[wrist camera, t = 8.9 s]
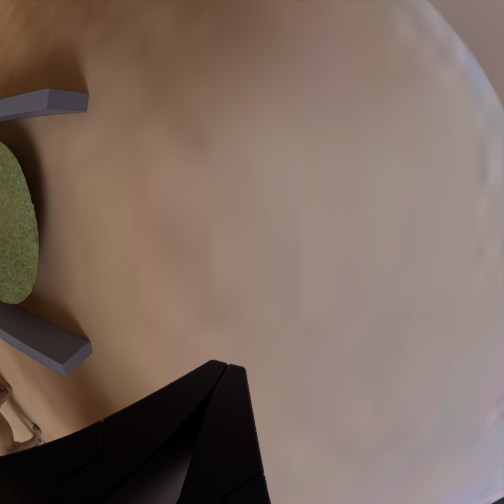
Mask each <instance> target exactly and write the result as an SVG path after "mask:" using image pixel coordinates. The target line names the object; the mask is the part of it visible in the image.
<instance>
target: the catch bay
mask: <svg viewBox="0 0 504 504" xmlns="http://www.w3.org/2000/svg"><path fill="white" fill-rule="evenodd" d="M88 95H89V94H85V93H79V92H73V91H67V90H60V89H52V88H48V89H42V90H38V91H33V92H28V93H24V94H20V95H16V96H12V97H8V98H4V99H0V122H3V121H9V120H15V119H22V118H30V117H37V116H46V115H56V114H66V113H79V112H86V109H87V102H88ZM0 338H1V339H3V340H4V341H6V342H7V343H9V344H10V345H12V346H13V347H15V348H16V349H18V350H20V351H21V352H23V353H24V354H26V355H28V356H29V357H31V358H32V359H34V360H36V361H38V362H39V363H41V364H43V365H44V366H46V367H48V368H50V369H51V370H53V371H55V372H57V373H59V374H61V375H62V376H64V377H67V376H68V375H69V374H70V373H71V372H72V371H73V370H74V369H75V368H76V367H77V366H78V365H80V364H81V363H82V362H83V361H84V360H85V359H86V358H87V357H88V356H89V355H90V354H91V353H92V351H91V345H90V341H88V340H86V339H83V338H81V337H79V336H77V335H74V334H72V333H70V332H68V331H65V330H63V329H61V328H59V327H57V326H55V325H52V324H50V323H48V322H46V321H44V320H42V319H40V318H38V317H36V316H34V315H32V314H30V313H28V312H26V311H24V310H22V309H20V308H19V307H17V306H15V305H13V304H11V303H10V304H9V303H5V302H3V301H1V300H0Z"/></svg>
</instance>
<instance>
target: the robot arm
mask: <svg viewBox="0 0 504 504" xmlns="http://www.w3.org/2000/svg"><path fill="white" fill-rule="evenodd" d="M263 474H264V469H263V464H262V459H261V453H260V448H259V442H258V437H257V431H256V426H255V420H254V415H253V409H252V403H251V397H250V392H249V386H248V380H247V374H246V369H245V368H244V367H242V366H238V365H233V364H229V365H228V364H227V363H225V362H221V361H217V360H210V361H208V362H206V363H205V364H203V365H201V366H200V367H198V368H196V369H194V370H193V371H191V372H189V373H188V374H186V375H184V376H182V377H181V378H179V379H177V380H175V381H174V382H172V383H170V384H168V385H166V386H165V387H163V388H161V389H159V390H157V391H156V392H154V393H152V394H150V395H148V396H146V397H145V398H143V399H141V400H139V401H137V402H135V403H133V404H131V405H130V406H128V407H126V408H124V409H122V410H120V411H118V412H116V413H114V414H112V415H110V416H108V417H106V418H104V419H103V422H102V421H98V422H96V423H94V424H92V425H90V426H88V427H86V428H83V429H81V430H79V431H77V432H74V433H72V434H70V435H68V436H65V437H62V438H59V439H56V440H54V441H51V442H48V443H45V444H42V445H38V446H35V447H32V448H28V449H25V450H21V451H18V452H14V453H10V454H7V455H3V456H0V504H271V501H270V497H269V493H268V489H267V484H266V479H265V475H263Z"/></svg>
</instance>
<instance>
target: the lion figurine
mask: <svg viewBox="0 0 504 504" xmlns="http://www.w3.org/2000/svg"><path fill="white" fill-rule="evenodd" d="M4 387H5V388H3V386H0V407H1V406H2V404H3V403H4V402H5V401H6V399H7V398H9V396H10V395H11V393H12V388H11V386H10V385H9V384H8V383H5V384H4ZM33 430H34V435H33V437H32V438H31V439H30V440H28V441H25V442H22V443H21V442H17V441H14V438H13V432H12V429H11V427H10V425H9V423H8V421H7V420H6V419H5V417H4V416H3V415H2V414H1V413H0V456H3V455H7V454H10V453H14V452H18V451H21V450H25V449H28V448H32V447H35V446H38V445H41V442H40V441H39V437H40V435H41V430H40V429H39V428H38V427H37V426H35V425H34V426H33Z"/></svg>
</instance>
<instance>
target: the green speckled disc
mask: <svg viewBox="0 0 504 504" xmlns="http://www.w3.org/2000/svg"><path fill="white" fill-rule="evenodd" d="M25 180H26V178H25V177H24V174H23V172H22V169H21V167H20V165H19V163H18V161H17V159H16V157H15V156H14V155H13V154H12V153H11V151H10V150H9V149H8V148H7V146H6V145H4V144H2V143H1V142H0V300H1V301H3V302H5V303H9V304H10V303H11V304H18V303H21V302H22V301H24V300H25V299H27V296H28V295H30V292H32V288H33V285H34V284H35V279H36V275H37V269H38V259H39V254H38V250H39V243H38V232H37V221H36V218H35V211H34V205H33V204H32V202H31V195H30V193H29V190H28V186H27V185H26V181H25Z"/></svg>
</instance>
